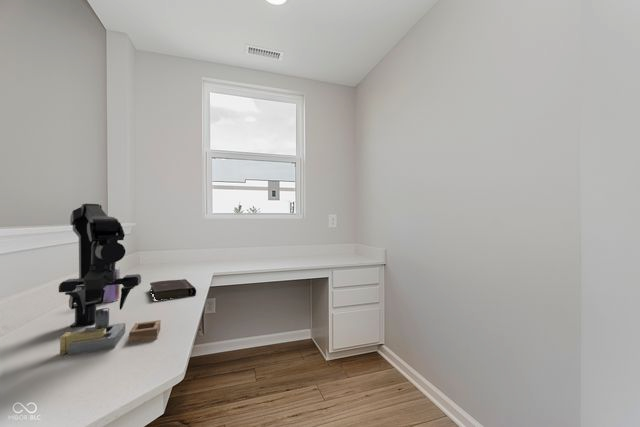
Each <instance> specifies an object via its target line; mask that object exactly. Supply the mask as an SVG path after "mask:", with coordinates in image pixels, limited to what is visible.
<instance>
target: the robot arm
mask: <svg viewBox="0 0 640 427" xmlns="http://www.w3.org/2000/svg"><path fill="white" fill-rule="evenodd" d="M69 221H70V222H69V224H70V225H71V226H72V231H73V232H74V234H75V235H76V236H77V237H78V277H79V278H68V279H66V280H63V281H61V283H59V284H58V293H64V295H65V296H69V298H68V308H69V309H70V310H74V322H72V323H71V325H69V327H70V328H73V327H83V326H90V325H95V316H96V310H97V305H101V304H103V303H104V302H103V298H104V294H105V290H104V289H103V288H105V287H106V285H118V284H120V285H122V287H121V288H120V293H121V294H120V298H119V300H120V301H119V310H120V311H121V310H122V309H123V307H124V305H125V302H126V300H127V297H128V295H129V293H130V292H131V290H133V289H135V287H137V286H139V285H140V284H141V283H142V275H141V274H140V273H139V274H137V273H136V274H126V275H125V276H123V277H120V278H117V279H116V272H115V267H116V264H117V262H119V261H121V260H123V258H124V257H125V255H126V248H125V246H124V245H123V244H122V243H121V242H118V241H124V240H125V239H124V238H125V231H124V229H123V225H122V223H121V222H120V221H119V220H118V219H117V218H116V217H115V216H108V215H107V214H106V213H105V211H104V210H103V207H102V204H99V203H82V204H81V206H80V207H78V208H76V209H73V210H72V212H71V215H70V220H69Z"/></svg>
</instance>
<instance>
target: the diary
mask: <svg viewBox="0 0 640 427" xmlns="http://www.w3.org/2000/svg"><path fill="white" fill-rule="evenodd" d="M149 285H150V289H149V293H150V292H151V293H152V294H154V297H155V299H156V300H161V299H168V300H171V299H170V298H175V299H177V298H183V297H185V298H186V297H188V296H189V297H191V296H192V295H193V296H196V294H197V289H196V287H195V286H193V285H192V284H191V283H190V282H189V281H188V280H187V278H183V279H170V280H168V279H167V280H159V281H158V280H157V281H153V282H150V283H149ZM150 290H152V291H150ZM151 293H150V296H151V295H152V294H151Z"/></svg>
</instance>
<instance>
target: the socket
mask: <svg viewBox="0 0 640 427" xmlns="http://www.w3.org/2000/svg"><path fill="white" fill-rule="evenodd" d="M89 330H95V326H91V327H85V328H84V330H82V331H89ZM125 333H126V322H120V323H114V324H109V332H106V337H104V338H97V339H91V340H84V341H77V342H70V343H69V350H68V353H67V354H68V356H72V355H73V356H74V355H79V354H80V355H81V354H85V353H92V352H97V351H105V350H112V349H115V348H116V347H117V345H118V343H119V342H120V341H121V339H123V337H124V335H125Z"/></svg>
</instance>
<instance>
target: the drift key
mask: <svg viewBox="0 0 640 427" xmlns="http://www.w3.org/2000/svg"><path fill="white" fill-rule="evenodd" d="M104 337H106V328H104V329H96V330H89V331H83V330H82V331H75V332H71V331H66V332H65V333H63V334H62V335H61V336H60V338H59V339H60V340H59V345H60V346H59V356H62V355H65V354H68V350H69V343H70V342H77V341H84V340H91V339H97V338H104Z"/></svg>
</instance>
